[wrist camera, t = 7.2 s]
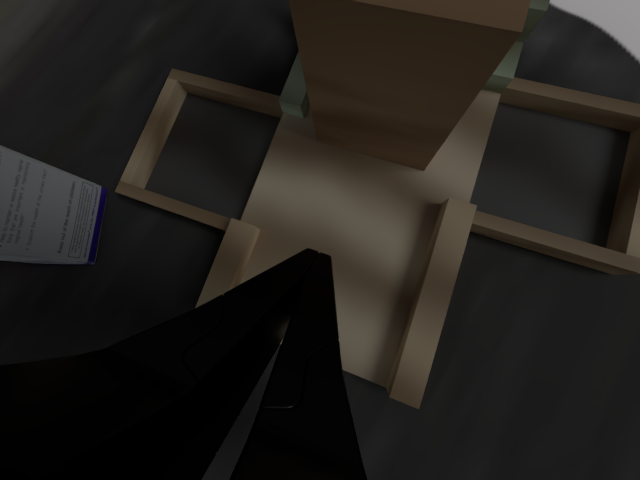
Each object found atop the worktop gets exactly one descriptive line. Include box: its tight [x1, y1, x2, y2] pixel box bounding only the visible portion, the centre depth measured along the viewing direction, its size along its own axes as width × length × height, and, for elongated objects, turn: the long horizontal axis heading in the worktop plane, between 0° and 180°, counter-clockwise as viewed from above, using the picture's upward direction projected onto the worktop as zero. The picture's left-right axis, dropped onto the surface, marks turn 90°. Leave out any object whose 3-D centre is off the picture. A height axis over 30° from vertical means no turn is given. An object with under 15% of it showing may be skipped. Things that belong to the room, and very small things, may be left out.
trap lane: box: [115, 0, 640, 409], centre depth 15 cm, size 23×31×4 cm
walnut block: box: [288, 0, 531, 171], centre depth 12 cm, size 7×7×9 cm
